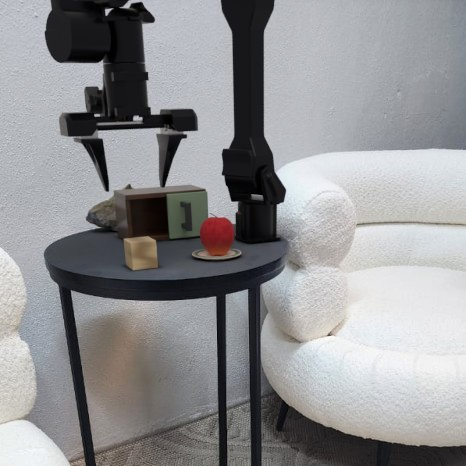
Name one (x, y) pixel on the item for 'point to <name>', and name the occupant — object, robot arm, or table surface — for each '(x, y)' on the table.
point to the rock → (104, 213)
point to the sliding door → (186, 213)
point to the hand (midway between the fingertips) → (135, 189)
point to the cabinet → (146, 211)
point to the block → (140, 253)
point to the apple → (216, 239)
